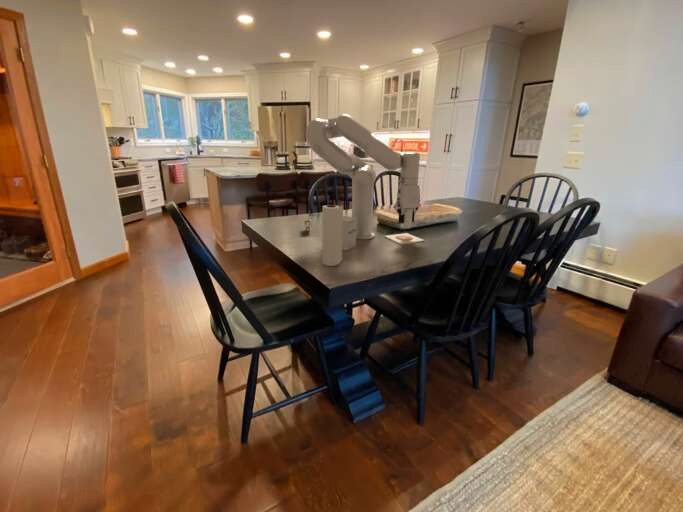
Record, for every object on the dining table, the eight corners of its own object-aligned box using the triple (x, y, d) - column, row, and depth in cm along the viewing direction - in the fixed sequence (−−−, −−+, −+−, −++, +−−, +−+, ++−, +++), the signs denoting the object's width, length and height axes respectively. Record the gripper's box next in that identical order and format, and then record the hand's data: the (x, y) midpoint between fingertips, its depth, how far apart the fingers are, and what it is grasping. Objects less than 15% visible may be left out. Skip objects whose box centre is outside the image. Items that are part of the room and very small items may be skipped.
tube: (404, 228, 148) (406, 206, 145) (397, 226, 152) (399, 204, 149) (413, 227, 150) (415, 205, 147) (407, 225, 154) (408, 204, 151)
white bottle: (347, 251, 135) (348, 221, 131) (332, 247, 139) (332, 218, 135) (356, 246, 141) (357, 217, 137) (341, 243, 145) (342, 215, 141)
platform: (318, 227, 172) (318, 215, 169) (321, 237, 155) (321, 223, 153) (295, 228, 170) (295, 215, 168) (295, 237, 153) (295, 224, 151)
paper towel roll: (322, 266, 118) (322, 207, 111) (322, 260, 124) (322, 204, 117) (342, 266, 118) (343, 207, 111) (342, 260, 124) (343, 204, 117)
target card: (400, 244, 145) (400, 243, 145) (384, 237, 156) (384, 235, 156) (424, 241, 150) (424, 239, 150) (406, 234, 161) (406, 232, 161)
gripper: (398, 183, 138) (395, 226, 144) (430, 181, 145) (426, 222, 151) (388, 181, 144) (386, 222, 150) (419, 180, 151) (415, 218, 157)
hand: (406, 221), depth 150 cm, fingers closed on tube, 5 cm apart
